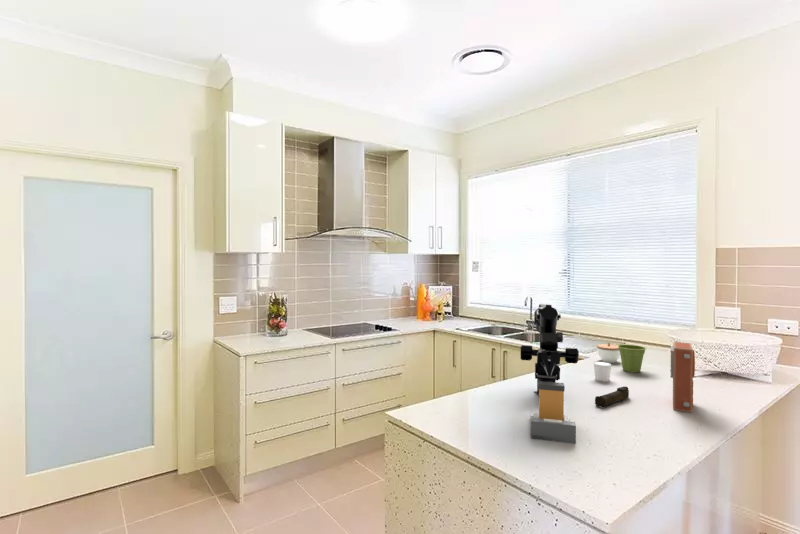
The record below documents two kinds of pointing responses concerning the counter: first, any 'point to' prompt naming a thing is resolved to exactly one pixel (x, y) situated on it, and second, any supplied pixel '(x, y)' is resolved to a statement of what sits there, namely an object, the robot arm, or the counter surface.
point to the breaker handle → (551, 400)
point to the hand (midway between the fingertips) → (549, 375)
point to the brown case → (682, 375)
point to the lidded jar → (608, 352)
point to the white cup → (602, 371)
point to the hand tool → (612, 397)
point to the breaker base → (553, 429)
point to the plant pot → (631, 357)
